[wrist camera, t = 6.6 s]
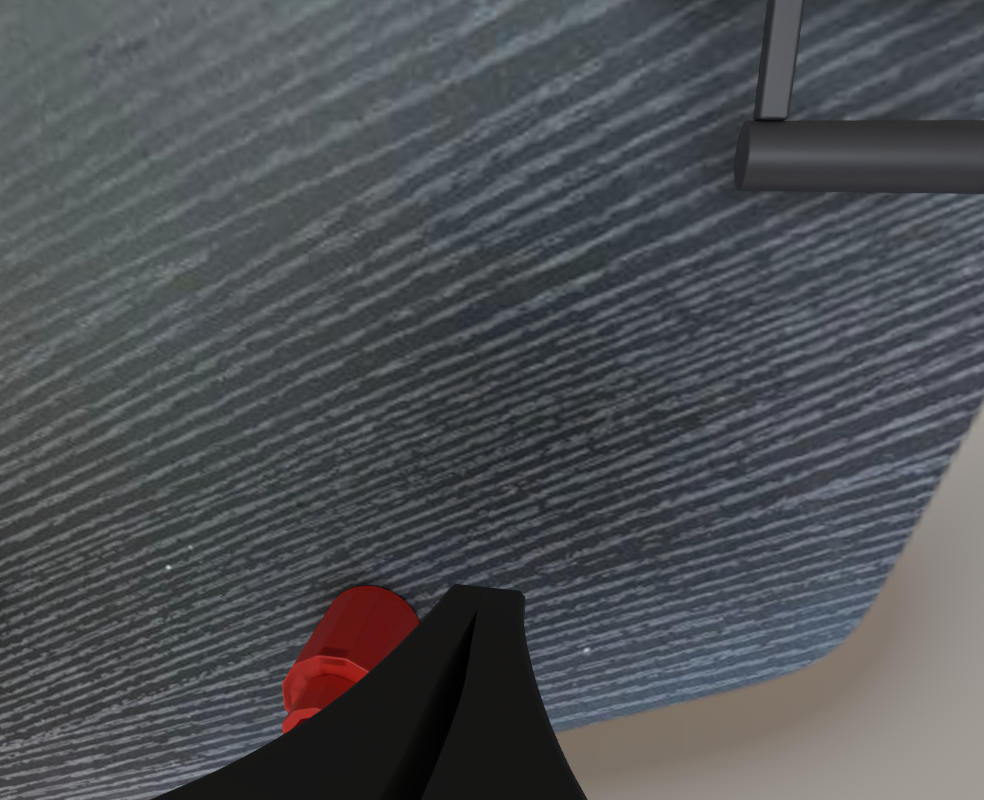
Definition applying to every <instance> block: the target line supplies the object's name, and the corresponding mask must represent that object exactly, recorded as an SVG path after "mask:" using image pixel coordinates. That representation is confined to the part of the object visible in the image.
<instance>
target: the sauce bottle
mask: <svg viewBox="0 0 984 800" xmlns="http://www.w3.org/2000/svg"><path fill="white" fill-rule="evenodd" d="M418 624H419V621H418V618H417V616H416V614H415V613H414V611H413V609H412V608H411V607H410V606H409V605H408V603H407V602H406V601H404V600H403V599H402V598H401V597H399V596H398V595H396V594H395V593H393V592H391V591H389V590H386V589H383V588H380V587H375V586H358V587H354V588H351V589H348V590H346V591H344V592H343V593H341V594H340V595H339V596H338V597H337V598H336V599H335V600H334V601H333V603H332V604H331V606H330V607H329V609H328V610H327V612H326V614H325V615H324V617H323V618H322V620H321V622H320V623H319V625H318V626H317V628H316V630H315V631H314V633H313V634H312V636H311V638H310V639H309V641H308V642H307V644H306V646H305V647H304V649H303V650H302V652H301V654H300V655H299V657H298V658H297V660H296V662H295V663H294V665H293V666H292V668H291V670H290V671H289V673H288V675H287V676H286V678H285V679H284V681H283V683H282V689H283V697H284V706H285V709H286V710H287V712H288V715H287V717H286V718H285V720H284V722H283V724H282V728H283V734H285V733H286V732H288V731H290V730H291V729H293V728H294V727H296V726H297V725H299V724H301V723H302V722H304V721H305V720H307V719H309V718H310V717H312V716H313V715H315V714H316V713H318V712H319V711H320V710H322V709H323V708H324V707H326V706H327V705H328V704H330V703H331V702H333V701H334V700H335V699H337V698H338V697H339V696H340V695H342V694H343V693H344V692H346V691H347V690H348V689H349V688H351V687H352V686H353V685H354V684H355V683H357V682H358V681H359V680H360V679H361V678H363V677H364V676H365V675H366V674H367V673H368V672H369V671H370V670H371V669H373V668H374V667H375V666H376V665H377V664H378V663H379V662H380V661H381V660H383V659H384V658H385V657H386V656H387V655H388V654H389V653H390V652H391V651H392V650H393V649H394V648H395V647H396V646H397V645H398V644H399V643H400V642H401V641H402V640H403V639H404V638H405V637H406V636H407V635H408V634H409V633H410V632H411V631H412V630H413V629H414V628H415V627H416V626H417V625H418Z"/></svg>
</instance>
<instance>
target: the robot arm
mask: <svg viewBox="0 0 984 800" xmlns="http://www.w3.org/2000/svg"><path fill="white" fill-rule="evenodd" d="M524 615H525V596H524V595H523V594H522V593H521V592H520V591H516V590H507V589H498V588H488V587H479V586H470V585H460V584H455V585H454V586H452V587H451V588H450V589H449V590H448V591H447V592H446V593H445V595H444V596H443V597H442V598H441V599H440V601H439V602H438V603H437V604H436V605H435V606H434V607H433V609H432V610H431V611H430V612H429V613H428V614H427V615H426V616H425V617H424V619H423V620H422V621H421V622H420V623H419V624H418V625H417V626H416V627H415V628H414V629H413V630H412V631H411V632H410V633H409V634H408V635H407V636H406V637H405V638H404V639H403V640H402V641H401V642H400V643H399V644H398V645H397V646H396V647H395V648H394V649H393V650H392V651H391V652H390V653H389V654H388V655H387V656H386V657H385V658H384V659H383V660H381V661H380V662H379V663H378V664H377V665H376V666H375V667H374V668H373V669H371V670H370V671H369V672H368V673H367V674H366V675H365V676H364V677H363V678H361V679H360V680H359V681H358V682H357V683H355V684H354V685H353V686H352V687H351V688H349V689H348V690H347V691H346V692H344V693H343V694H342V695H340V696H339V697H338V698H337V699H335V700H334V701H333V702H331V703H330V704H328V705H327V706H326V707H324V708H323V709H322V710H320V711H319V712H318V713H316V714H315V715H313V716H312V717H310V718H309V719H307V720H305V721H304V722H302V723H301V724H299V725H297V726H296V727H294V728H293V729H291V730H290V731H288V732H286V733H285V734H283V735H282V736H280V737H278V738H277V739H275V740H274V741H272V742H270V743H268V744H267V745H265V746H263V747H261V748H259V749H258V750H256V751H254V752H252V753H250V754H248V755H247V756H245V757H243V758H241V759H239V760H237V761H235V762H233V763H231V764H229V765H227V766H225V767H223V768H221V769H219V770H217V771H215V772H213V773H211V774H208V775H206V776H204V777H202V778H200V779H197V780H195V781H193V782H190V783H188V784H186V785H183V786H181V787H179V788H176V789H174V790H172V791H169V792H167V793H165V794H162V795H160V796H158V797H155V798H153V799H150V800H587V798H586V796H585V794H584V793H583V791H582V789H581V787H580V785H579V783H578V782H577V780H576V778H575V776H574V774H573V773H572V771H571V769H570V767H569V765H568V763H567V760H566V758H565V756H564V754H563V752H562V750H561V747H560V745H559V743H558V741H557V738H556V736H555V733H554V731H553V729H552V726H551V724H550V721H549V718H548V716H547V713H546V710H545V708H544V705H543V702H542V699H541V696H540V692H539V689H538V686H537V683H536V679H535V676H534V672H533V668H532V664H531V660H530V656H529V652H528V647H527V642H526V636H525V628H524Z"/></svg>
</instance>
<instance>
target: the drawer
mask: <svg viewBox="0 0 984 800" xmlns="http://www.w3.org/2000/svg"><path fill="white" fill-rule="evenodd" d="M804 1H805V0H768V3H767V12H766V20H765V28H764V36H763V44H762V52H761V61H760V69H759V77H758V85H757V93H756V101H755V109H754V120H755V121H746V122H745V123H744V125H743V127H742V129H741V132H740V135H739V139H738V144H737V150H736V158H735V172H734V176H735V185H736V189H737V190H739V191H797V192H876V193H956V194H984V120H933V121H783V120H786V119H787V118H788V116H789V110H790V102H791V95H792V88H793V81H794V73H795V66H796V59H797V52H798V45H799V37H800V30H801V23H802V16H803V8H804Z"/></svg>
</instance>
